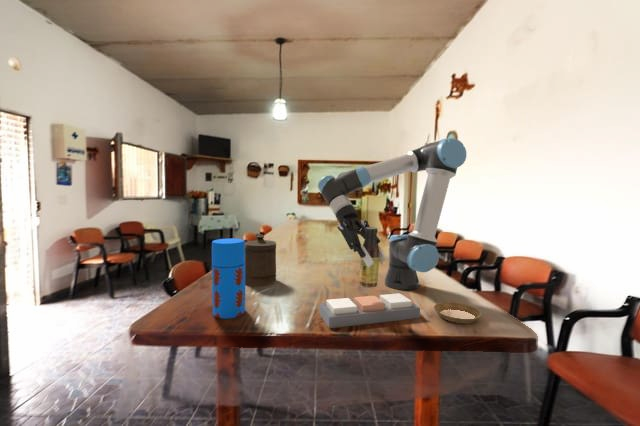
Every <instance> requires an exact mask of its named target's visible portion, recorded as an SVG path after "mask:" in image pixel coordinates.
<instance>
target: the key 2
mask: <svg viewBox="0 0 640 426" xmlns="http://www.w3.org/2000/svg"><path fill="white" fill-rule="evenodd" d="M379 298H380V300H381V301H382V302H384V303H385V305H386V306H387V307H388V308H389V309H394V308H404V307H412V303H413V301H412V300H411V299H409V298H407V296H405V295H403V294H401V293H390V294H379Z"/></svg>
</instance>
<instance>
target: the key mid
mask: <svg viewBox="0 0 640 426" xmlns="http://www.w3.org/2000/svg"><path fill="white" fill-rule="evenodd" d="M378 298H379V297H377V296H376V295H366V296H356V297H353V300H354V304H355V305H356V306H357V307H358V308H359V309H360V310H361V311H362V312H365V311H375V310H385V303H384V302H382V301H381V300H380V299H378Z"/></svg>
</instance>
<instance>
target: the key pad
mask: <svg viewBox="0 0 640 426" xmlns="http://www.w3.org/2000/svg"><path fill="white" fill-rule="evenodd" d="M377 298H378V299H380V297H377ZM350 300H351V301H352V302H353V303H354V299H350ZM318 314H319V315H320V317H321V319H322V320H323V321H324V323H325V324H326V326H327V327H328V329H335V328H343V327H352V326H360V325H362V326H363V325H370V324H380V323H389V322H396V321H405V320H406V319H407V320H414V318H416V319H420V317H421V307H419V306H418V305H417V304H415V303H413V302H412V307H404V308H394V309H389V308H388V307H387V306H386V305H385V310H375V311H365V312H362V311H361V310H360V309H359V308H358V307H357V312H355V313H345V314H335V315H332V313H331V312H330V311H329V309H328V308H327V307H326V302H319V303H318Z"/></svg>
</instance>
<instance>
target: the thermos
mask: <svg viewBox="0 0 640 426" xmlns="http://www.w3.org/2000/svg"><path fill="white" fill-rule="evenodd" d="M245 242H246V241H245V240H244V239H243V238H232V237H231V238H219V239H215V240H212V241H211V279H212V280H211V282H212V284H211V285H212V286H211V289H212V291H211V292H212V313H213V316H214V317H215V318H218V319H222V320H223V319H234V318H238V317H240V316H242V315H244V313H245V311H246V284H245Z"/></svg>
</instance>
